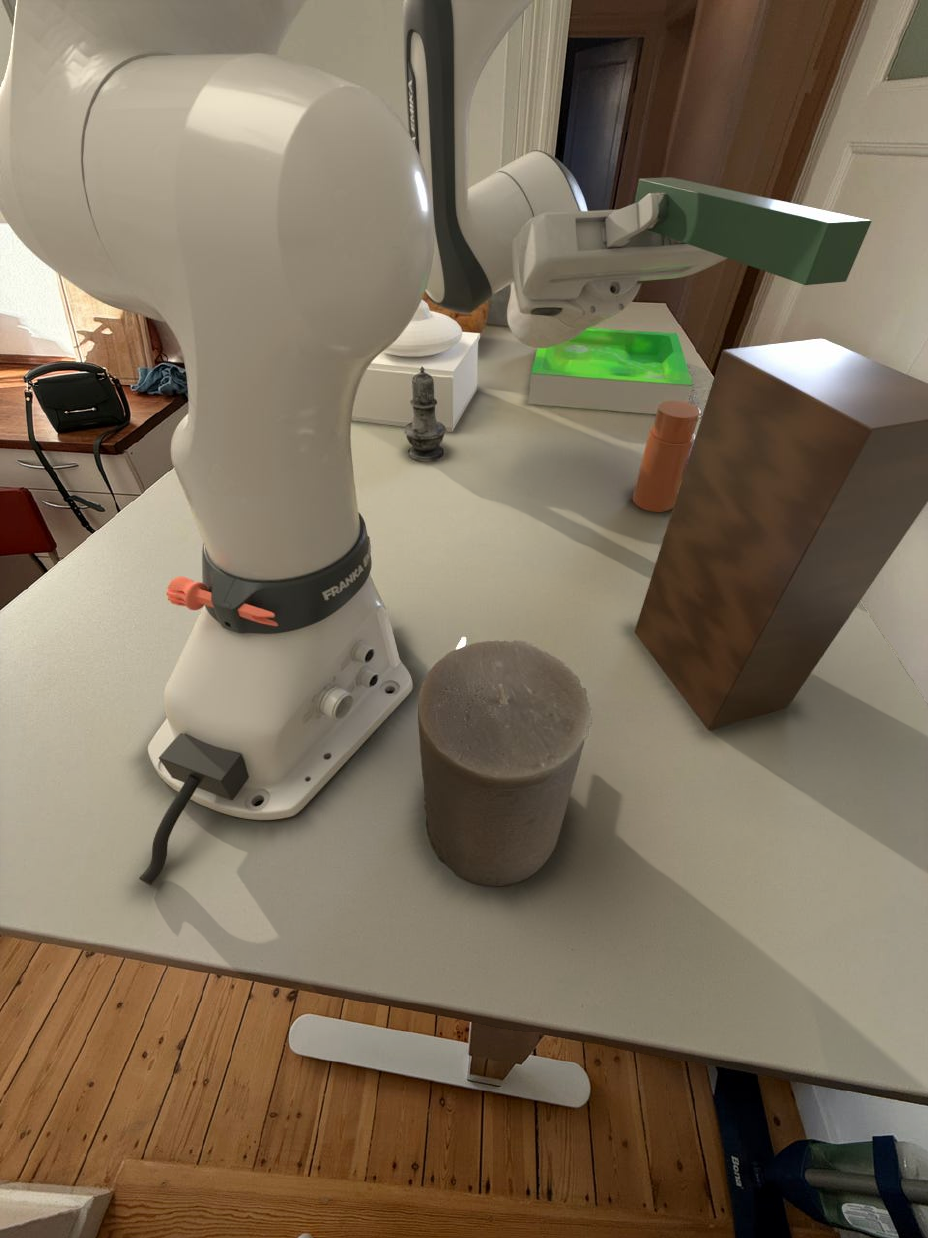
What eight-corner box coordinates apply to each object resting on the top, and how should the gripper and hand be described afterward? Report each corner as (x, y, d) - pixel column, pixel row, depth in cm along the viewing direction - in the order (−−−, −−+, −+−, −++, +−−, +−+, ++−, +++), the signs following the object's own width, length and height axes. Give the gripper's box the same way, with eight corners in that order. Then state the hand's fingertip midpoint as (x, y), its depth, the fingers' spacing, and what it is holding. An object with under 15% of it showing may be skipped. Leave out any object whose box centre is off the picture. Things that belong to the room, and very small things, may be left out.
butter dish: (345, 419, 87) (328, 307, 76) (383, 377, 100) (374, 276, 89) (452, 432, 84) (452, 317, 73) (478, 387, 97) (481, 284, 86)
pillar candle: (411, 872, 37) (392, 748, 27) (441, 749, 44) (436, 612, 34) (556, 900, 36) (596, 782, 26) (564, 769, 43) (598, 634, 33)
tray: (528, 403, 92) (531, 372, 89) (540, 352, 110) (543, 324, 106) (683, 416, 89) (692, 384, 86) (670, 361, 107) (677, 333, 103)
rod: (630, 224, 46) (638, 178, 44) (662, 222, 47) (671, 177, 44) (805, 285, 32) (829, 222, 30) (846, 281, 33) (872, 220, 31)
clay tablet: (417, 322, 123) (415, 281, 118) (493, 327, 121) (494, 285, 115) (389, 356, 108) (385, 311, 102) (476, 363, 105) (477, 317, 100)
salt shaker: (441, 464, 77) (439, 376, 69) (400, 460, 78) (393, 372, 70) (450, 445, 81) (449, 360, 73) (411, 441, 82) (406, 356, 74)
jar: (676, 513, 69) (706, 420, 60) (633, 510, 69) (657, 416, 61) (671, 492, 72) (699, 401, 64) (631, 488, 73) (653, 397, 65)
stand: (633, 632, 54) (722, 349, 36) (704, 615, 56) (822, 337, 38) (708, 731, 46) (872, 428, 28) (788, 707, 47) (991, 409, 29)
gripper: (687, 298, 58) (797, 242, 45) (504, 315, 53) (567, 258, 40) (684, 229, 56) (798, 151, 43) (495, 240, 52) (559, 156, 39)
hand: (685, 202), depth 42 cm, fingers closed on rod, 3 cm apart
